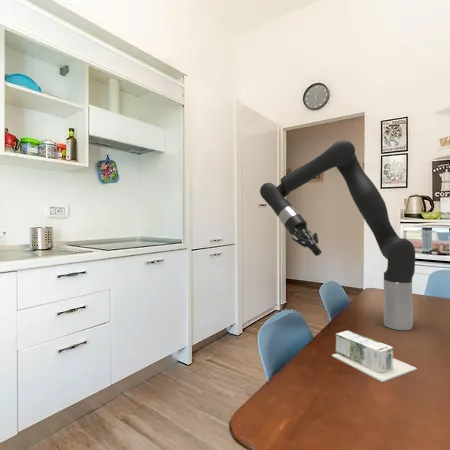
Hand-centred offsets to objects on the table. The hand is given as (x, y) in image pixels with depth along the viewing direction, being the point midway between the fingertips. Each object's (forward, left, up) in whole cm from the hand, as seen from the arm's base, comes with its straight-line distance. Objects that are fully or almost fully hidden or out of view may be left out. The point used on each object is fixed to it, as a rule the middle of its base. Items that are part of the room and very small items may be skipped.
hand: (318, 254), depth 106 cm
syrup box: (+7, +16, -24) cm, 30 cm away
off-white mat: (+4, +25, -28) cm, 37 cm away
